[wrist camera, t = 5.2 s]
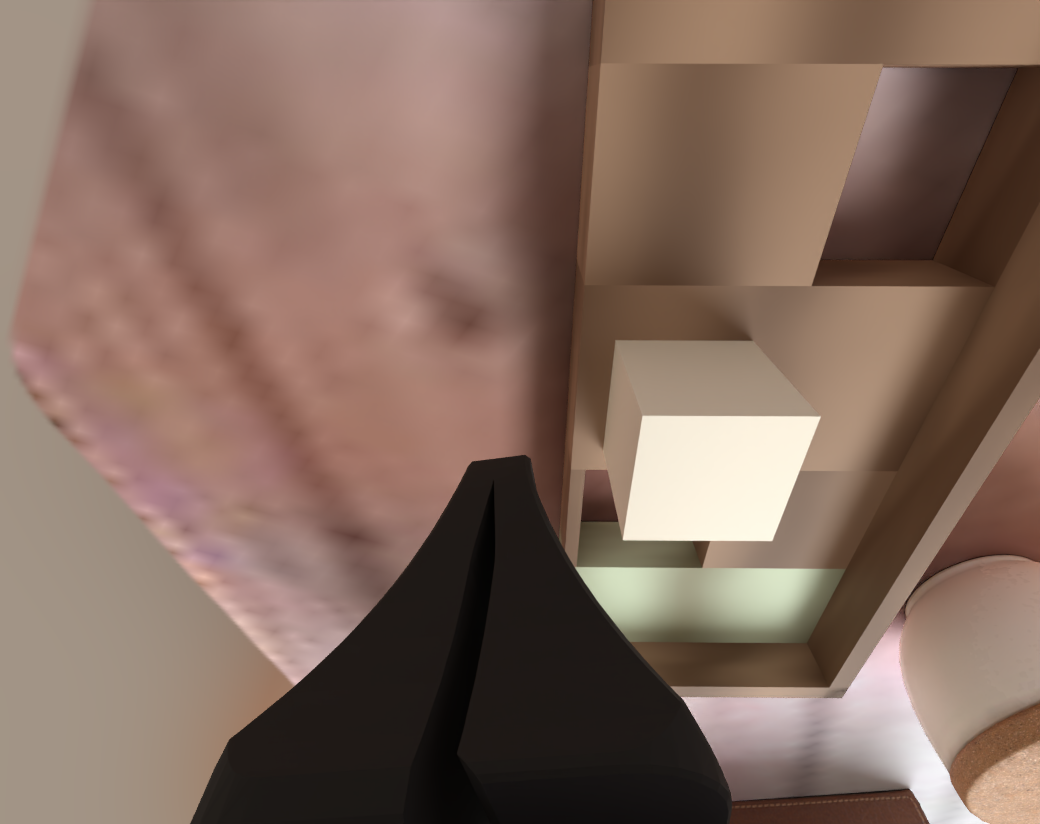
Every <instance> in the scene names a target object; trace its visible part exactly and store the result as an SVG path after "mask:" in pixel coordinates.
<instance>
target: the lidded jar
mask: <svg viewBox="0 0 1040 824" xmlns="http://www.w3.org/2000/svg"><path fill="white" fill-rule="evenodd" d="M905 615H906V621H905V624H904V626H903V629H902V633H901V637H900V645H899V663H900V668H901V673H902V678H903V682H904V686H905V689H906V691H907V694H908V697H909V700H910V702H911V705H912V708H913V710H914V712H915V714H916V716H917V718H918V720H919V722H920V725H921V727H922V729H923V731H924V732H925V734H926V736H927V738H928V739H929V741H930V743H931V745H932V746H933V748H934V750H935V752H936V753H937V755H938V757H939V758H940V760H941V761H942V763H943V765H944V766H945V768H946V769H947V771H948V773H949V774H950V779H951V783H952V785H953V786H954V788H955V790H956V792H957V793H958V795H959V797H960V798H961V800H962V801H963V803H964V805H965V806H966V807H967V809H968V810H969V811H970V812H971V813H972V814H974V815H975V816H977V817H978V818H980V819H981V820H982V821H984V822H987V823H989V824H1040V562H1034V561H1033V560H1030V559H1028V558H1025V557H1021V556H1016V555H992V556H984V557H980V558H975V559H971V560H968V561H964V562H961V563H959V564H956V565H953V566H951V567H949V568H947V569H945V570H943V571H941V572H939V573H937V574H935V575H934V576H932V577H931V578H929V579H928V580H926V581H925V582H924V583H923V584H921V585H920V586H919V587H918V588H917V589H916V590H915V591H914V593H913V594H912V595H911V596H910V598H909V600H908V601H907V604H906V607H905Z"/></svg>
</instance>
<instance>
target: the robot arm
mask: <svg viewBox="0 0 1040 824" xmlns="http://www.w3.org/2000/svg"><path fill="white" fill-rule="evenodd" d="M731 811H732V800H731V794H730V790H729V787H728V784H727V782H726V779H725V777H724V774H723V772H722V770H721V767H720V765H719V763H718V761H717V759H716V757H715V755H714V753H713V751H712V749H711V747H710V745H709V743H708V742H707V740H706V738H705V736H704V734H703V733H702V731H701V729H700V727H699V726H698V724H697V722H696V721H695V719H694V717H693V716H692V714H691V712H690V711H689V709H688V707H687V705H686V704H685V702H684V701H683V699H682V698H681V697H680V696H679V695H678V694H677V693H676V692H675V691H674V690H673V689H672V688H671V687H670V686H669V685H668V684H667V683H666V682H665V681H664V680H663V679H662V677H661V676H660V675H659V674H658V673H657V672H656V671H655V670H654V669H653V668H652V667H651V666H650V664H649V663H648V662H647V661H646V660H645V659H644V658H643V657H642V655H641V654H640V653H639V652H638V651H637V650H636V648H635V647H634V646H633V645H632V644H631V643H630V642H629V640H628V639H627V638H626V637H625V636H624V634H623V633H622V632H621V630H620V629H619V628H618V627H617V625H616V624H615V623H614V622H613V620H612V619H611V618H610V616H609V615H608V614H607V613H606V611H605V610H604V609H603V607H602V606H601V605H600V604H599V602H598V601H597V600H596V598H595V597H594V595H593V594H592V592H591V591H590V589H589V588H588V587H587V585H586V584H585V582H584V581H583V579H582V578H581V576H580V575H579V573H578V571H577V570H576V568H575V567H574V565H573V564H572V562H571V560H570V559H569V557H568V555H567V553H566V552H565V550H564V548H563V546H562V545H561V543H560V541H559V539H558V537H557V535H556V533H555V531H554V529H553V527H552V525H551V523H550V521H549V519H548V517H547V515H546V512H545V510H544V508H543V506H542V503H541V501H540V498H539V496H538V493H537V490H536V484H535V479H534V474H533V469H532V463H531V459H530V458H529V457H527V456H526V455H521V456H513V457H505V458H497V459H489V460H481V461H473V462H472V463H471V464H470V465H469V466H468V468H467V470H466V472H465V474H464V476H463V478H462V480H461V482H460V483H459V485H458V487H457V489H456V491H455V493H454V494H453V496H452V498H451V500H450V502H449V503H448V505H447V507H446V508H445V510H444V512H443V513H442V515H441V517H440V518H439V520H438V522H437V523H436V525H435V527H434V528H433V530H432V531H431V533H430V534H429V536H428V537H427V539H426V540H425V542H424V543H423V545H422V546H421V548H420V549H419V550H418V552H417V553H416V555H415V556H414V558H413V559H412V561H411V562H410V563H409V565H408V566H407V567H406V569H405V570H404V571H403V573H402V574H401V575H400V577H399V578H398V579H397V581H396V582H395V583H394V584H393V586H392V587H391V588H390V589H389V590H388V592H387V593H386V594H385V595H384V597H383V598H382V599H381V600H380V601H379V603H378V604H377V605H376V606H375V607H374V608H373V609H372V610H371V611H370V613H369V614H368V615H367V616H366V617H365V618H364V619H363V620H362V621H361V623H360V624H359V625H358V626H357V627H356V628H355V629H354V630H353V631H352V632H351V633H350V634H349V635H348V636H347V637H346V639H345V640H344V641H343V642H342V643H341V644H340V645H339V646H338V647H336V648H335V649H334V650H333V651H332V652H331V653H330V654H329V655H328V656H327V657H326V658H325V659H324V660H323V661H322V662H321V663H320V664H319V665H318V666H316V667H315V668H314V669H313V670H312V671H311V672H310V673H309V674H308V675H307V676H306V677H304V678H303V679H302V680H301V681H300V682H299V683H298V684H297V685H295V686H294V687H293V688H292V689H291V690H290V691H289V692H287V693H286V694H285V695H284V696H283V697H281V698H280V699H279V700H278V701H276V702H275V703H274V704H273V705H272V706H270V707H269V708H268V709H267V710H266V711H264V712H263V713H262V714H261V715H259V716H258V717H257V718H256V719H254V720H253V721H252V722H251V723H250V724H248V725H247V726H246V727H245V728H244V729H242V730H241V731H240V732H238V733H237V734H236V735H234V736H233V737H232V738H231V739H230V740H229V742H228V743H227V745H226V747H225V749H224V751H223V753H222V755H221V757H220V759H219V761H218V763H217V765H216V767H215V769H214V771H213V773H212V775H211V778H210V780H209V783H208V785H207V787H206V789H205V792H204V794H203V796H202V798H201V801H200V803H199V805H198V807H197V810H196V812H195V814H194V816H193V819H192V821H191V823H190V824H730V817H731Z"/></svg>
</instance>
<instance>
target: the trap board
mask: <svg viewBox="0 0 1040 824" xmlns="http://www.w3.org/2000/svg"><path fill="white" fill-rule="evenodd" d="M882 67H902V68H1018V70H1017V72H1016V75H1015V77H1014V79H1013V81H1012V84H1011V86H1010V88H1009V90H1008V93H1007V95H1006V97H1005V99H1004V102H1003V104H1002V106H1001V108H1000V111H999V113H998V115H997V117H996V120H995V122H994V124H993V126H992V128H991V131H990V133H989V135H988V137H987V140H986V142H985V144H984V146H983V149H982V151H981V153H980V155H979V158H978V160H977V162H976V164H975V167H974V169H973V171H972V173H971V176H970V178H969V180H968V182H967V185H966V187H965V189H964V191H963V193H962V196H961V198H960V200H959V202H958V205H957V207H956V209H955V211H954V214H953V216H952V218H951V220H950V223H949V225H948V227H947V229H946V232H945V234H944V236H943V238H942V241H941V243H940V245H939V247H938V250H937V252H936V254H935V256H934V259H933V260H820V258H821V255H822V252H823V249H824V246H825V243H826V240H827V237H828V233H829V230H830V227H831V224H832V221H833V218H834V215H835V212H836V209H837V206H838V203H839V200H840V197H841V193H842V190H843V187H844V184H845V181H846V178H847V175H848V172H849V169H850V166H851V163H852V160H853V156H854V153H855V150H856V147H857V144H858V141H859V138H860V135H861V132H862V129H863V126H864V123H865V119H866V116H867V113H868V110H869V107H870V104H871V101H872V98H873V95H874V92H875V89H876V86H877V83H878V79H879V76H880V73H881V70H882ZM615 340H682V341H754V342H755V344H756V345H757V346H758V347H759V348H760V349H761V350H762V351H763V352H764V354H765V355H766V356H767V357H768V358H769V359H770V360H771V361H772V363H773V364H774V365H775V366H776V367H777V368H778V369H779V370H780V371H781V373H782V374H783V375H784V376H785V377H786V378H787V379H788V380H789V382H790V383H791V384H792V385H793V386H794V387H795V388H796V389H797V390H798V392H799V393H800V394H801V395H802V396H803V397H804V398H805V399H806V401H807V402H808V403H809V404H810V405H811V406H812V407H813V408H814V409H815V411H816V412H817V413H818V414H819V415H820V416H821V417H820V420H819V423H818V425H817V428H816V430H815V433H814V435H813V438H812V441H811V443H810V446H809V448H808V451H807V453H806V456H805V458H804V461H803V464H802V466H801V469H800V471H799V474H798V476H797V479H796V482H795V484H794V487H793V489H792V492H791V494H790V497H789V499H788V502H787V505H786V507H785V510H784V512H783V515H782V517H781V520H780V522H779V525H778V528H777V530H776V533H775V535H774V538H773V540H772V541H658V540H623V539H622V535H621V530H620V526H619V522H581V513H582V502H583V491H584V481H585V470H607V466H606V461H605V456H604V452H603V446H604V437H605V428H606V419H607V411H608V402H609V393H610V384H611V375H612V367H613V358H614V349H615ZM1039 398H1040V0H593V4H592V20H591V36H590V52H589V68H588V84H587V100H586V116H585V132H584V148H583V164H582V180H581V195H580V211H579V227H578V243H577V259H576V275H575V291H574V307H573V323H572V339H571V355H570V371H569V387H568V403H567V419H566V435H565V451H564V467H563V483H562V499H561V514H560V530H559V541H560V543H561V545H562V546H563V548H564V550H565V552H566V553H567V555H568V557H569V559H570V560H571V562H572V564H573V565H574V567H575V568H576V570H577V571H578V573H579V575H580V576H581V578H582V579H583V581H584V582H585V584H586V585H587V587H588V588H589V589H590V591H591V592H592V594H593V595H594V597H595V598H596V600H597V601H598V602H599V604H600V605H601V606H602V607H603V609H604V610H605V611H606V613H607V614H608V615H609V616H610V618H611V619H612V620H613V622H614V623H615V624H616V625H617V627H618V628H619V629H620V630H621V632H622V633H623V634H624V636H625V637H626V638H627V639H628V640H629V642H630V643H631V644H632V645H633V646H634V647H635V648H636V650H637V651H638V652H639V653H640V654H641V655H642V657H643V658H644V659H645V660H646V661H647V662H648V663H649V664H650V666H651V667H652V668H653V669H654V670H655V671H656V672H657V673H658V674H659V675H660V676H661V677H662V679H663V680H664V681H665V682H666V683H667V684H668V685H669V686H670V687H671V688H672V689H673V690H674V691H675V692H676V693H677V694H678V695H679V696H680V697H777V698H842V697H843V696H844V694H845V692H846V691H847V689H848V688H849V686H850V685H851V683H852V682H853V680H854V679H855V677H856V676H857V674H858V673H859V671H860V670H861V668H862V667H863V665H864V664H865V662H866V661H867V659H868V658H869V656H870V655H871V653H872V651H873V650H874V648H875V647H876V645H877V644H878V642H879V641H880V639H881V638H882V636H883V635H884V633H885V632H886V630H887V629H888V627H889V626H890V624H891V623H892V621H893V620H894V618H895V617H896V615H897V613H898V612H899V610H900V609H901V607H902V606H903V604H904V603H905V601H906V600H907V598H908V597H909V595H910V594H911V592H912V591H913V589H914V588H915V586H916V585H917V583H918V582H919V580H920V579H921V577H922V576H923V574H924V572H925V571H926V569H927V568H928V566H929V565H930V563H931V562H932V560H933V559H934V557H935V556H936V554H937V553H938V551H939V550H940V548H941V547H942V545H943V544H944V542H945V541H946V539H947V538H948V536H949V535H950V533H951V531H952V530H953V528H954V527H955V525H956V524H957V522H958V521H959V519H960V518H961V516H962V515H963V513H964V512H965V510H966V509H967V507H968V506H969V504H970V503H971V501H972V500H973V498H974V497H975V495H976V494H977V492H978V490H979V489H980V487H981V486H982V484H983V483H984V481H985V480H986V478H987V477H988V475H989V474H990V472H991V471H992V469H993V468H994V466H995V465H996V463H997V462H998V460H999V459H1000V457H1001V456H1002V454H1003V452H1004V451H1005V449H1006V448H1007V446H1008V445H1009V443H1010V442H1011V440H1012V439H1013V437H1014V436H1015V434H1016V433H1017V431H1018V430H1019V428H1020V427H1021V425H1022V424H1023V422H1024V421H1025V419H1026V418H1027V416H1028V415H1029V413H1030V411H1031V410H1032V408H1033V407H1034V405H1035V404H1036V402H1037V401H1038V399H1039Z"/></svg>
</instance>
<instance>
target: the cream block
mask: <svg viewBox="0 0 1040 824" xmlns="http://www.w3.org/2000/svg"><path fill="white" fill-rule="evenodd" d="M820 417H821V416H820V415H819V414H818V413H817V412H816V411H815V409H814V408H813V407H812V406H811V405H810V404H809V403H808V402H807V401H806V399H805V398H804V397H803V396H802V395H801V394H800V393H799V392H798V390H797V389H796V388H795V387H794V386H793V385H792V384H791V383H790V382H789V380H788V379H787V378H786V377H785V376H784V375H783V374H782V373H781V371H780V370H779V369H778V368H777V367H776V366H775V365H774V364H773V363H772V361H771V360H770V359H769V358H768V357H767V356H766V355H765V354H764V352H763V351H762V350H761V349H760V348H759V347H758V346H757V345H756V344H755V342H754V341H682V340H615V349H614V358H613V367H612V375H611V384H610V393H609V402H608V411H607V419H606V428H605V437H604V446H603V452H604V456H605V461H606V466H607V470H608V475H609V479H610V484H611V489H612V493H613V498H614V503H615V507H616V512H617V516H618V521H619V526H620V530H621V535H622V539H623V540H658V541H772V540H773V538H774V535H775V533H776V530H777V528H778V525H779V522H780V520H781V517H782V515H783V512H784V510H785V507H786V505H787V502H788V499H789V497H790V494H791V492H792V489H793V487H794V484H795V482H796V479H797V476H798V474H799V471H800V469H801V466H802V464H803V461H804V458H805V456H806V453H807V451H808V448H809V446H810V443H811V441H812V438H813V435H814V433H815V430H816V428H817V425H818V423H819V420H820Z"/></svg>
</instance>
